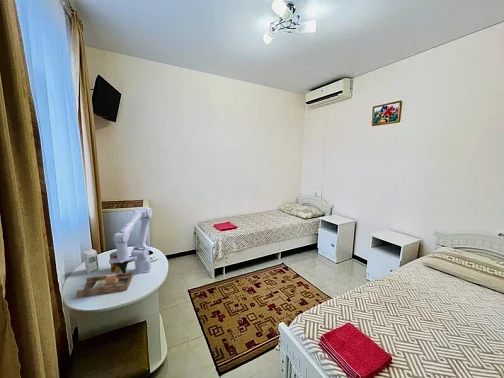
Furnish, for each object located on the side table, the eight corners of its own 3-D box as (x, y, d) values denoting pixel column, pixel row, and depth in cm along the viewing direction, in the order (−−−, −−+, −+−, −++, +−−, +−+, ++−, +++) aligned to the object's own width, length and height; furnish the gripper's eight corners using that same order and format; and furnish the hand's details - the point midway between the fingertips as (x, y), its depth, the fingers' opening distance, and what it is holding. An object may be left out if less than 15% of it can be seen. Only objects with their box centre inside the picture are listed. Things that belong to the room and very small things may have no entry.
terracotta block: (116, 280, 135) (115, 273, 134) (114, 284, 131) (113, 277, 130) (108, 281, 134) (107, 275, 133) (105, 285, 129) (105, 279, 129)
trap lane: (132, 277, 142) (131, 271, 141) (127, 290, 129) (126, 284, 128) (87, 283, 135) (86, 277, 134) (77, 297, 121) (76, 291, 121)
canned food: (110, 268, 152) (108, 252, 150) (123, 265, 157) (121, 249, 155) (112, 273, 146) (110, 257, 144) (125, 269, 151) (124, 253, 149)
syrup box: (89, 274, 145) (87, 254, 143) (85, 271, 148) (83, 251, 146) (99, 270, 150) (96, 250, 147) (95, 268, 153) (92, 248, 150)
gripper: (106, 256, 125) (108, 277, 127) (134, 253, 129) (135, 274, 132) (110, 251, 132) (112, 271, 134) (136, 248, 136) (138, 268, 138)
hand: (124, 272), depth 133 cm, fingers closed
